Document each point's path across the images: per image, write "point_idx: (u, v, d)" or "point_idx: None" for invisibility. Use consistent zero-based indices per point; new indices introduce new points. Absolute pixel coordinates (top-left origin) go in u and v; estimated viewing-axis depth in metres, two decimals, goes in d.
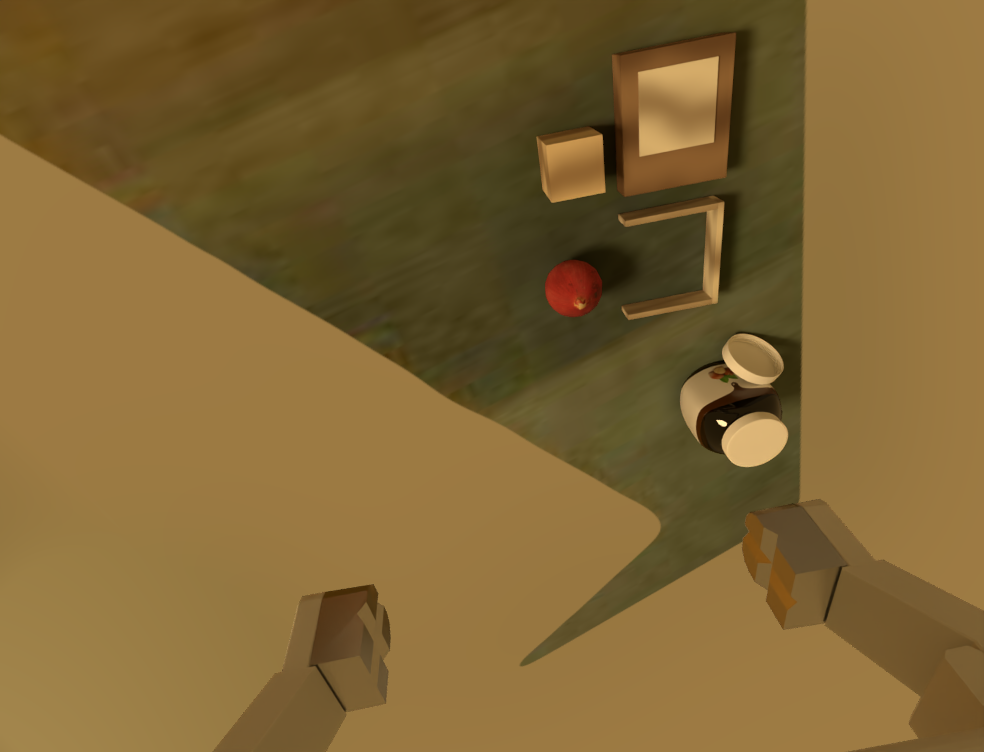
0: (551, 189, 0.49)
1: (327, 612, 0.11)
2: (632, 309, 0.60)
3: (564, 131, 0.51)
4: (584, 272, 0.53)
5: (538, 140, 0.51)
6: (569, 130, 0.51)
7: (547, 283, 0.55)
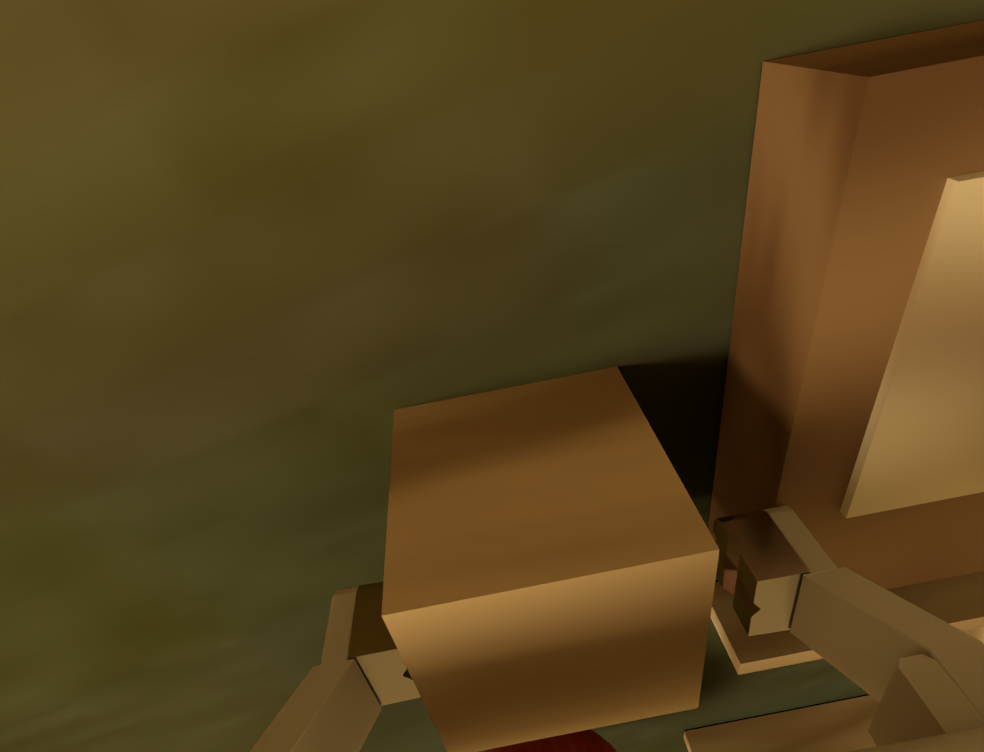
0: (441, 727, 0.10)
1: (362, 606, 0.11)
2: None
3: (512, 394, 0.12)
4: None
5: None
6: (534, 389, 0.12)
7: None
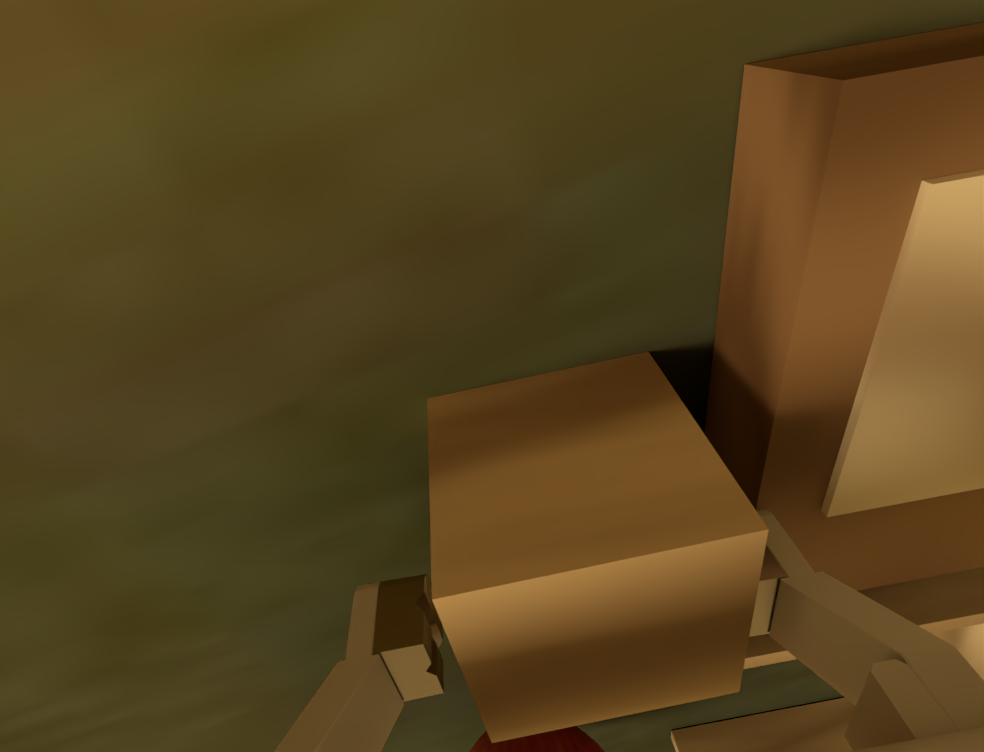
0: (484, 713, 0.10)
1: (385, 601, 0.11)
2: None
3: (545, 382, 0.12)
4: None
5: None
6: (567, 377, 0.12)
7: None
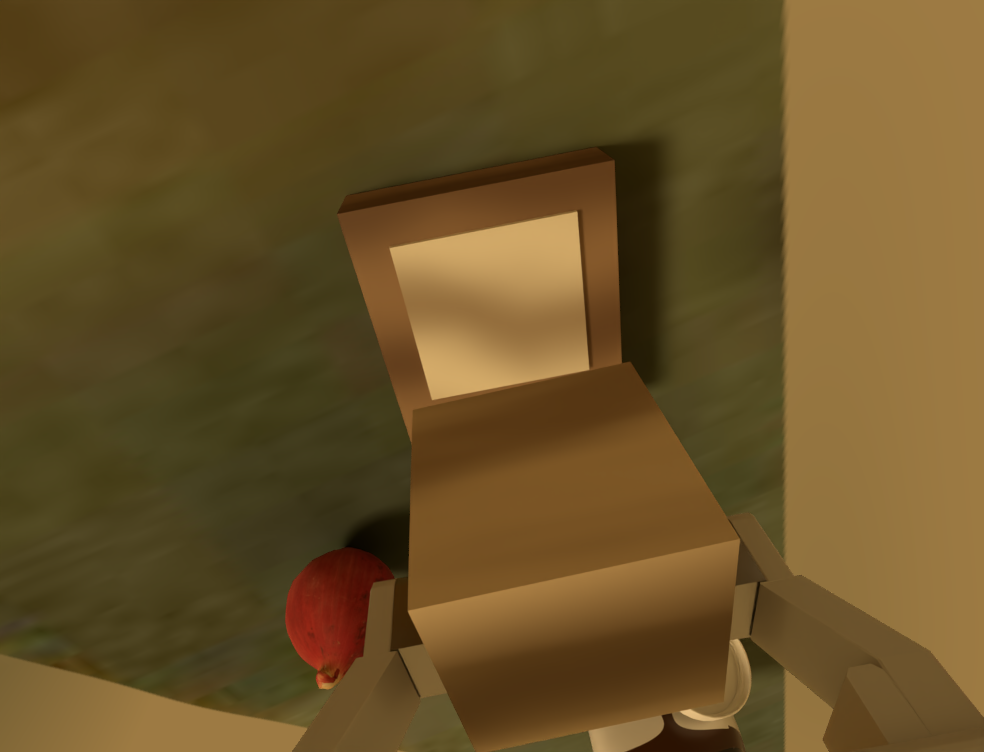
0: (468, 724, 0.10)
1: (402, 598, 0.11)
2: None
3: (528, 393, 0.12)
4: (342, 606, 0.27)
5: None
6: (550, 388, 0.12)
7: (287, 604, 0.28)
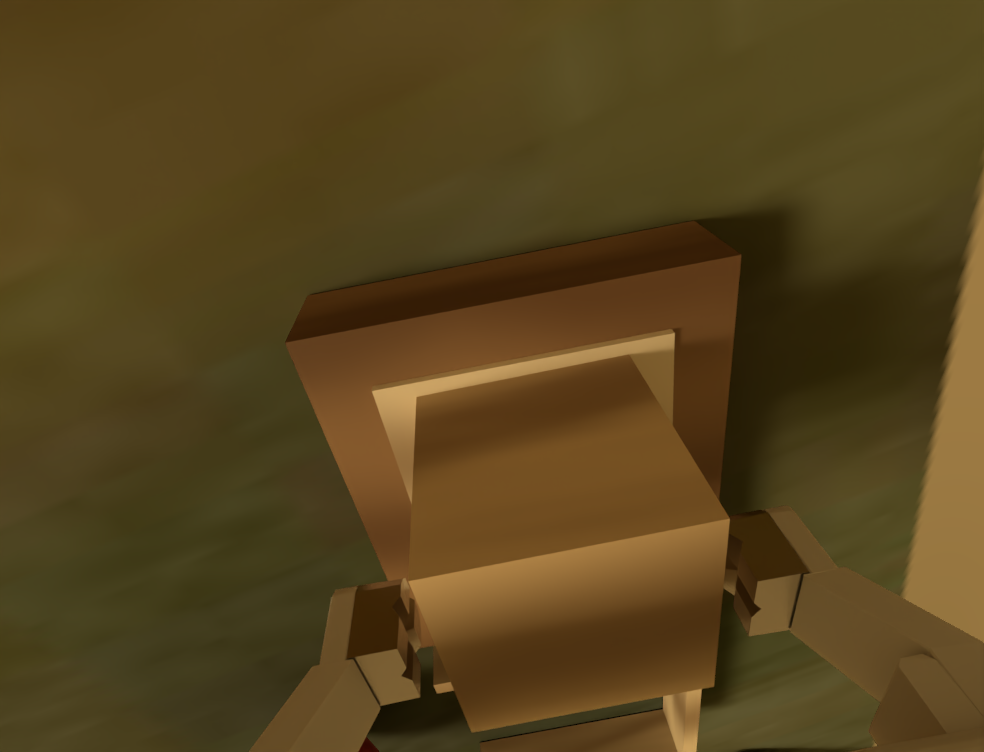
0: (463, 700, 0.10)
1: (362, 606, 0.11)
2: None
3: (529, 382, 0.12)
4: None
5: None
6: (550, 378, 0.12)
7: None
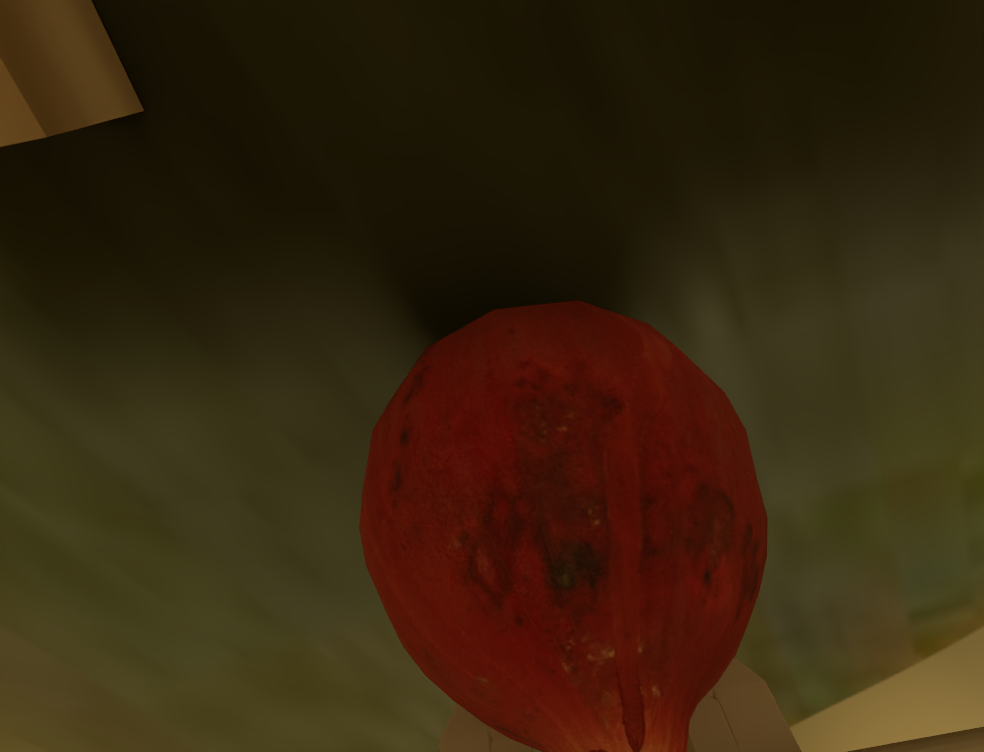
0: None
1: None
2: None
3: None
4: (387, 579, 0.06)
5: None
6: None
7: None
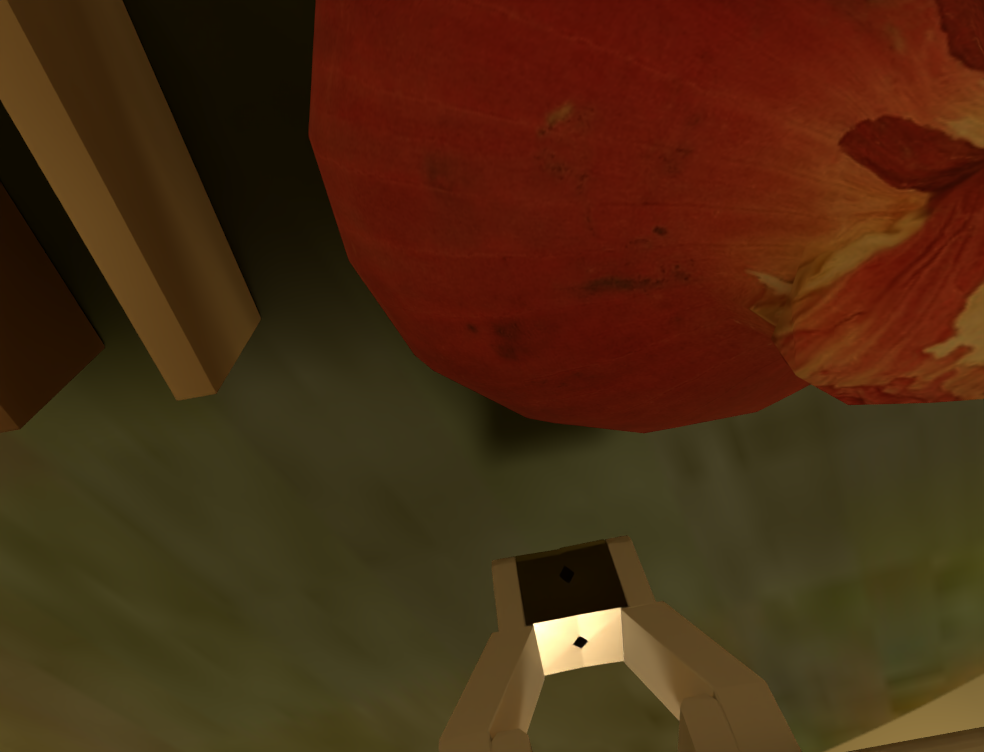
0: None
1: (526, 575, 0.11)
2: None
3: None
4: (352, 83, 0.03)
5: None
6: None
7: None
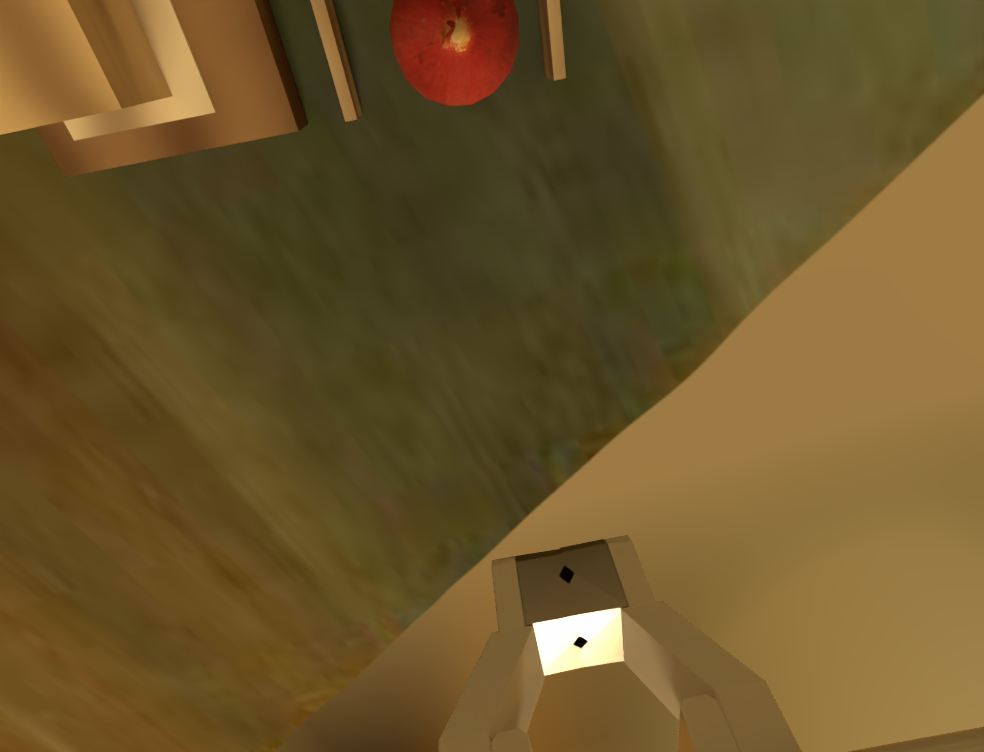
0: (92, 112, 0.21)
1: (526, 575, 0.11)
2: (548, 60, 0.27)
3: None
4: (399, 15, 0.22)
5: None
6: None
7: (440, 102, 0.26)
